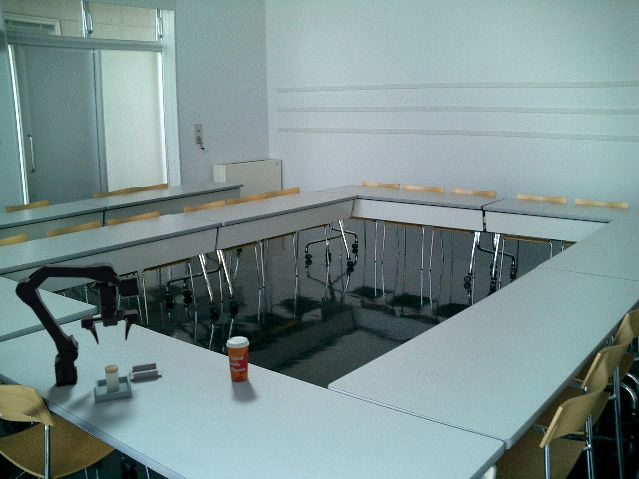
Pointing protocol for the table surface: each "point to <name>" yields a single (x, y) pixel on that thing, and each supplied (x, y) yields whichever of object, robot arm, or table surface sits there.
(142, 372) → the clip rails
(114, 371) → the cylinder
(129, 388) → the tray
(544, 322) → the table surface
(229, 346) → the paper cup
